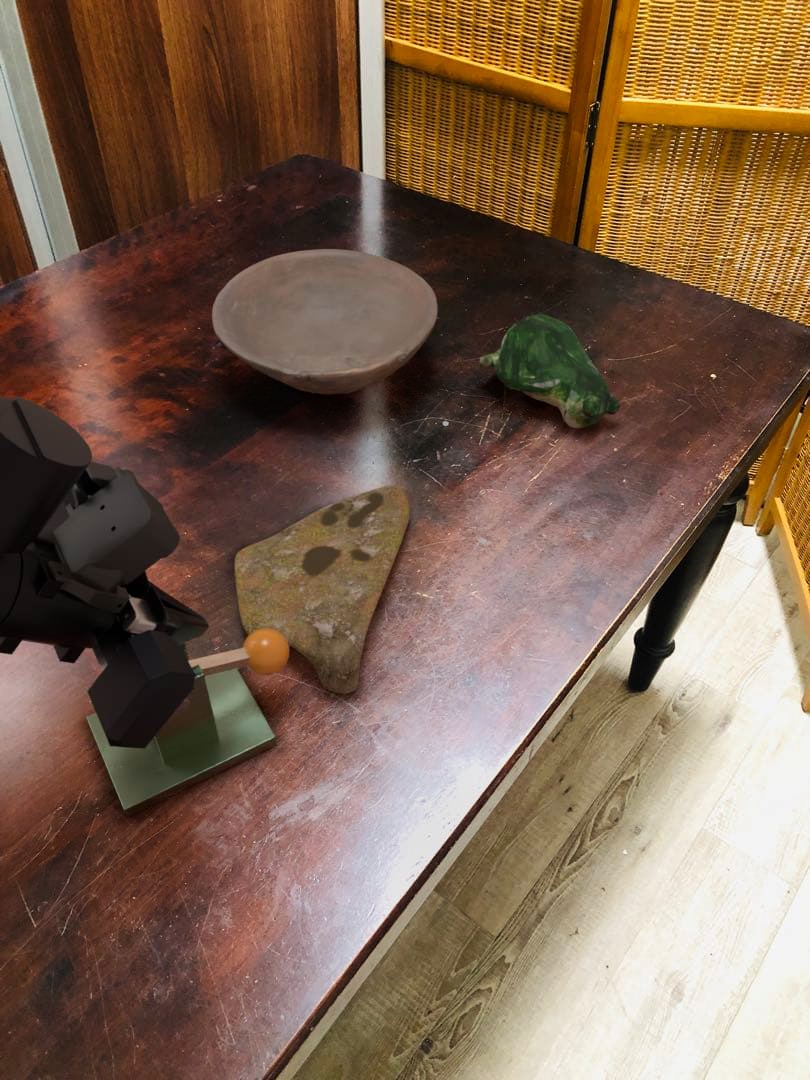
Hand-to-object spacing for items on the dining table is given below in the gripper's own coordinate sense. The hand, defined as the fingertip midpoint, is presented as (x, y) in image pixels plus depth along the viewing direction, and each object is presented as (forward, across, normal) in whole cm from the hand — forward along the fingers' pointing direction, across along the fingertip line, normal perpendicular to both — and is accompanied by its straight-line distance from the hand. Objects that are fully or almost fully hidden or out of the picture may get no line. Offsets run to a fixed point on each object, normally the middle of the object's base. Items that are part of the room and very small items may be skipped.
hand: (203, 627), depth 62 cm
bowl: (+29, +38, -12) cm, 49 cm away
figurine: (+42, +20, -26) cm, 53 cm away
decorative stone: (+18, +10, -1) cm, 20 cm away
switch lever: (+5, 0, +5) cm, 6 cm away
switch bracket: (+6, 0, +11) cm, 12 cm away
